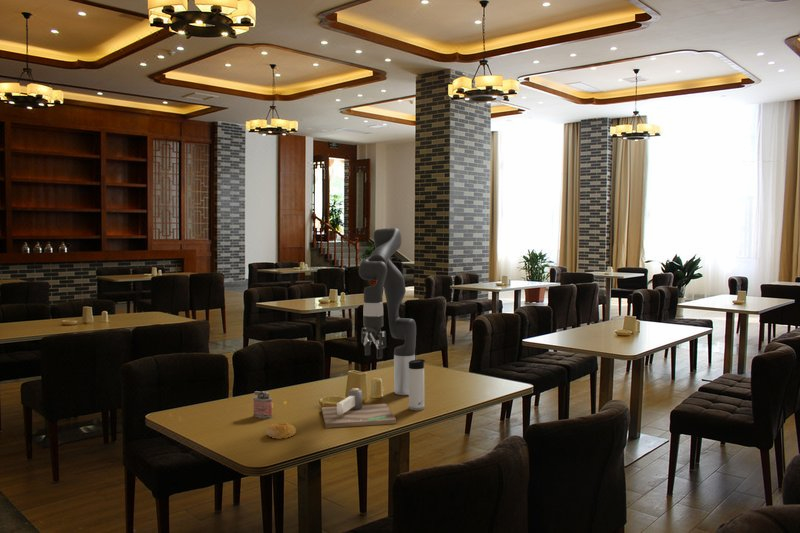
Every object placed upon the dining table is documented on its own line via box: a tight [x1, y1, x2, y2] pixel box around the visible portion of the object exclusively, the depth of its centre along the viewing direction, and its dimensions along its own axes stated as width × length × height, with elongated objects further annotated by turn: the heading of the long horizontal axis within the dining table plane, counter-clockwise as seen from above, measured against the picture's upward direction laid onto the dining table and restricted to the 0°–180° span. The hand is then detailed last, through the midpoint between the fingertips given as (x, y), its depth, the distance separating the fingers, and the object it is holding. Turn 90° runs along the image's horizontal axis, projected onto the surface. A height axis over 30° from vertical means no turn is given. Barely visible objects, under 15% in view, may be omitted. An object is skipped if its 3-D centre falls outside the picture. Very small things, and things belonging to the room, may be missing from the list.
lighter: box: [252, 390, 273, 420], centre depth 253 cm, size 8×3×10 cm, turn 71°
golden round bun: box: [266, 422, 297, 440], centre depth 231 cm, size 10×11×5 cm
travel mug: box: [408, 358, 426, 411], centre depth 263 cm, size 6×7×20 cm
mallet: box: [336, 387, 363, 415], centre depth 253 cm, size 18×5×8 cm, turn 161°
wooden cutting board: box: [321, 403, 397, 429], centre depth 252 cm, size 23×26×2 cm
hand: (373, 357), depth 246 cm, fingers open, 8 cm apart
